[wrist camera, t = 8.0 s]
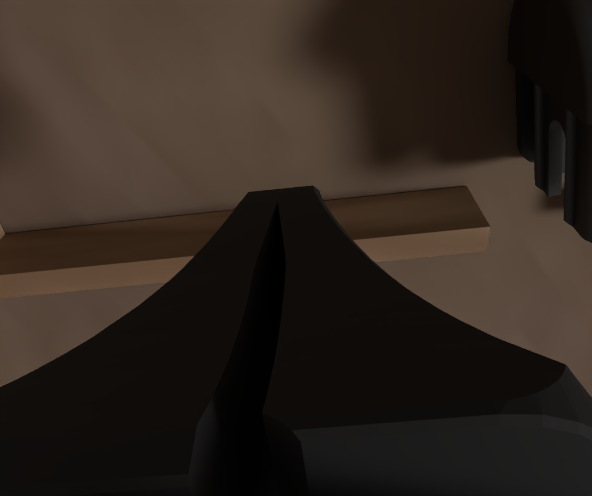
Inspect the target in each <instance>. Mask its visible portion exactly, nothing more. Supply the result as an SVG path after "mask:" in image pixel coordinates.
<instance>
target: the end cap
mask: <svg viewBox="0 0 592 496" xmlns="http://www.w3.org/2000/svg"><path fill="white" fill-rule="evenodd" d="M508 62H509V63H511V64H512V65H513V66H514V67H515V76H516V114H517V146H518V149H519V152H520V153H521V154H522V156H523V157H524V158H525V159H527V160H528V161H530V162H534V171H535V185H536V186H537V187H538V188H540V189H541V190H543V191H544V192H545V193H546V195H547V196H548V197H552V196H556V195H561V180H562V173H564V172H565V188H564V221H565V222H567V223H568V224H569V225H571V226H573V227H574V229H575V230H576V231H577V232H578V233H579V235H580V236H581V237H582V238H583V239H585V240H587V241H589V242H591V243H592V0H515V1H514V5H513V8H512V12H511V18H510V24H509V34H508Z"/></svg>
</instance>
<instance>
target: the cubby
mask: <svg viewBox="0 0 592 496" xmlns="http://www.w3.org/2000/svg"><path fill="white" fill-rule="evenodd" d="M324 202H325V204H326V206H327V207H328V209H329V210H330V212H331V213H332V215H333V216H334V217H335V219H336V220H337V222H338V223H339V224H340V225H341V226H342V228H343V229H344V230H345V231H346V233H347V234H348V235H349V236H350V237H351V239H352V240H353V241H354V242H355V243H356V244H357V245H358V246H359V247H360V248H361V249H362V250H363V251H364V252H365V253H366V254H367V255H368V256H369V257H370V258H371V259H372V260H373V261H374V262H381V261H391V260H402V259H412V258H422V257H433V256H443V255H453V254H463V253H474V252H484V251H488V245H489V234H490V225H489V224H488V222H487V220H486V219H485V217H484V215H483V213H482V212H481V210H480V208H479V207H478V205H477V203H476V201H475V200H474V198H473V196H472V195H471V193H470V191H469V189H468V188H467V186H463V187H453V188H443V189H434V190H424V191H414V192H405V193H395V194H385V195H376V196H366V197H356V198H347V199H337V200H327V201H324ZM233 211H234V210H231V211H221V212H211V213H202V214H192V215H182V216H173V217H163V218H153V219H144V220H134V221H124V222H115V223H105V224H96V225H86V226H76V227H67V228H57V229H47V230H38V231H28V232H18V233H9V234H5V233H4V230H3V228H2V226H1V224H0V298H9V297H20V296H30V295H40V294H51V293H61V292H71V291H82V290H92V289H102V288H113V287H123V286H133V285H144V284H154V283H164V282H168V281H169V280H170V279H172V278H173V277H174V276H175V275H176V274H177V273H178V272H179V271H180V270H181V269H182V268H183V267H184V266H185V265H186V264H187V263H188V262H189V261H190V260H191V259H192V258H193V257H194V256H195V255H196V254H197V253H198V252H199V251H200V250H201V249H202V248H203V247H204V246H205V244H206V243H207V242H208V241H209V240H210V239H211V237H212V236H213V235H214V234H215V233H216V232H217V230H218V229H219V228H220V227H221V226H222V224H223V223H224V222H225V221H226V219H227V218H228V217H229V216H230V214H231V213H232V212H233Z"/></svg>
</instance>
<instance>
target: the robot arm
mask: <svg viewBox="0 0 592 496" xmlns="http://www.w3.org/2000/svg"><path fill="white" fill-rule="evenodd" d="M0 496H592V397H591V396H590V395H589V394H588V392H587V391H586V390H585V389H584V387H583V386H582V385H581V384H580V382H579V381H578V380H577V378H576V377H575V376H574V375H573V373H572V372H571V371H570V369H569V368H568V366H567V365H565V364H563V363H560V362H558V361H555V360H552V359H550V358H547V357H545V356H542V355H539V354H537V353H534V352H532V351H529V350H526V349H524V348H521V347H519V346H516V345H513V344H511V343H508V342H506V341H503V340H500V339H498V338H496V337H494V336H491V335H489V334H487V333H485V332H483V331H481V330H479V329H477V328H475V327H473V326H471V325H468V324H466V323H464V322H462V321H460V320H458V319H456V318H455V317H453V316H451V315H449V314H447V313H445V312H444V311H442V310H440V309H438V308H437V307H435V306H433V305H432V304H430V303H429V302H427V301H425V300H424V299H422V298H420V297H419V296H417V295H416V294H414V293H412V292H411V291H409V290H408V289H407V288H405V287H404V286H402V285H401V284H400V283H399V282H397V281H396V280H395V279H394V278H392V277H391V276H390V275H389V274H387V273H386V272H385V271H384V270H383V269H382V268H380V267H379V266H378V265H377V264H376V263H375V262H374V261H373V260H372V259H371V258H370V257H369V256H368V255H367V254H366V253H365V252H364V251H363V250H362V249H361V248H360V247H359V246H358V245H357V244H356V243H355V242H354V241H353V240H352V239H351V237H350V236H349V235H348V234H347V233H346V231H345V230H344V229H343V228H342V226H341V225H340V224H339V223H338V222H337V220H336V219H335V217H334V216H333V215H332V213H331V212H330V210H329V209H328V207H327V206H326V204H325V202H324V201H323V199H322V197H321V194H320V191H319V190H318V189H317V188H315V187H314V186H304V187H294V188H284V189H274V190H264V191H254V192H248V193H247V195H246V196H245V197H244V198H243V199H242V201H241V202H240V203H239V204H238V205H237V207H236V208H235V209H234V211H233V212H232V213H231V214H230V216H229V217H228V218H227V219H226V221H225V222H224V223H223V224H222V226H221V227H220V228H219V229H218V230H217V232H216V233H215V234H214V235H213V236H212V237H211V239H210V240H209V241H208V242H207V243H206V244H205V246H204V247H203V248H202V249H201V250H200V251H199V252H198V253H197V254H196V255H195V256H194V257H193V258H192V259H191V260H190V261H189V262H188V263H187V264H186V265H185V266H184V267H183V268H182V269H181V270H180V271H179V272H178V273H177V274H176V275H175V276H174V277H173V278H172V279H170V280H169V281H168V282H167V283H166V284H165V285H164V286H162V287H161V288H160V289H159V290H158V291H156V292H155V293H154V294H153V295H151V296H150V297H149V298H148V299H146V300H145V301H144V302H143V303H141V304H140V305H139V306H137V307H136V308H135V309H133V310H132V311H130V312H129V313H127V314H126V315H125V316H123V317H122V318H120V319H119V320H117V321H116V322H114V323H113V324H111V325H110V326H108V327H107V328H105V329H104V330H103V331H101V332H100V333H98V334H97V335H95V336H94V337H92V338H91V339H89V340H87V341H86V342H84V343H82V344H81V345H79V346H77V347H76V348H74V349H72V350H70V351H69V352H67V353H65V354H64V355H62V356H60V357H58V358H56V359H55V360H53V361H51V362H49V363H47V364H45V365H44V366H42V367H40V368H38V369H36V370H34V371H32V372H30V373H28V374H27V375H25V376H23V377H21V378H19V379H17V380H15V381H13V382H10V383H8V384H6V385H4V386H2V387H0Z"/></svg>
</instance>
